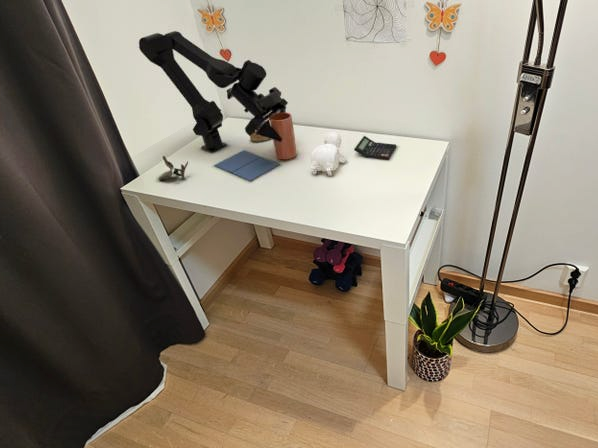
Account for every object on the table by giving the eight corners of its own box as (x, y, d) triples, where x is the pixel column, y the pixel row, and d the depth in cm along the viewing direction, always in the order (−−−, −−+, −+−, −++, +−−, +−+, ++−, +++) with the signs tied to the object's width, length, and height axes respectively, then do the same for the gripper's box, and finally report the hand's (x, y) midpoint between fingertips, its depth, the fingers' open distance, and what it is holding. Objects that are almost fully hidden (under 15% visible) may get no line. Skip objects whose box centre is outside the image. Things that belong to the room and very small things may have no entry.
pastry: (255, 144, 140) (253, 134, 138) (247, 139, 145) (244, 129, 142) (279, 136, 145) (277, 126, 142) (270, 131, 149) (268, 121, 147)
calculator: (388, 160, 126) (388, 151, 125) (354, 156, 130) (353, 147, 128) (396, 146, 133) (396, 138, 132) (363, 143, 137) (363, 135, 135)
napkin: (214, 166, 129) (214, 164, 129) (243, 151, 137) (243, 150, 136) (250, 181, 120) (250, 180, 120) (279, 164, 128) (279, 163, 127)
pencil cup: (274, 160, 128) (267, 121, 121) (276, 150, 134) (269, 113, 126) (296, 158, 129) (290, 119, 121) (297, 149, 135) (292, 111, 127)
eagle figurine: (193, 167, 127) (167, 160, 128) (183, 156, 120) (156, 150, 121) (184, 188, 125) (158, 182, 126) (174, 179, 118) (146, 172, 119)
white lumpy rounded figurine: (338, 182, 123) (351, 146, 130) (331, 165, 116) (345, 127, 123) (312, 180, 125) (326, 144, 132) (304, 162, 118) (320, 125, 125)
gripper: (244, 93, 112) (285, 133, 115) (277, 72, 125) (313, 109, 129) (228, 117, 119) (267, 154, 122) (260, 95, 132) (295, 129, 136)
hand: (287, 135), depth 127 cm, fingers closed on pencil cup, 7 cm apart
